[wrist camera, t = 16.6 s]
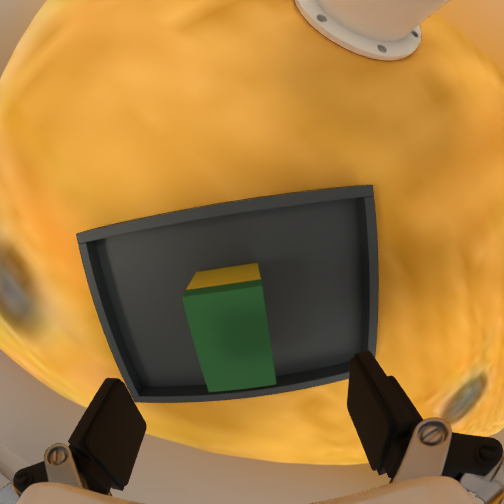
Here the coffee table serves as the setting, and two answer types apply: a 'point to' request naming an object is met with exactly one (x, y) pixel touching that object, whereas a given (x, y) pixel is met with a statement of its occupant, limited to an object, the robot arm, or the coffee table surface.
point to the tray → (234, 254)
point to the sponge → (230, 327)
